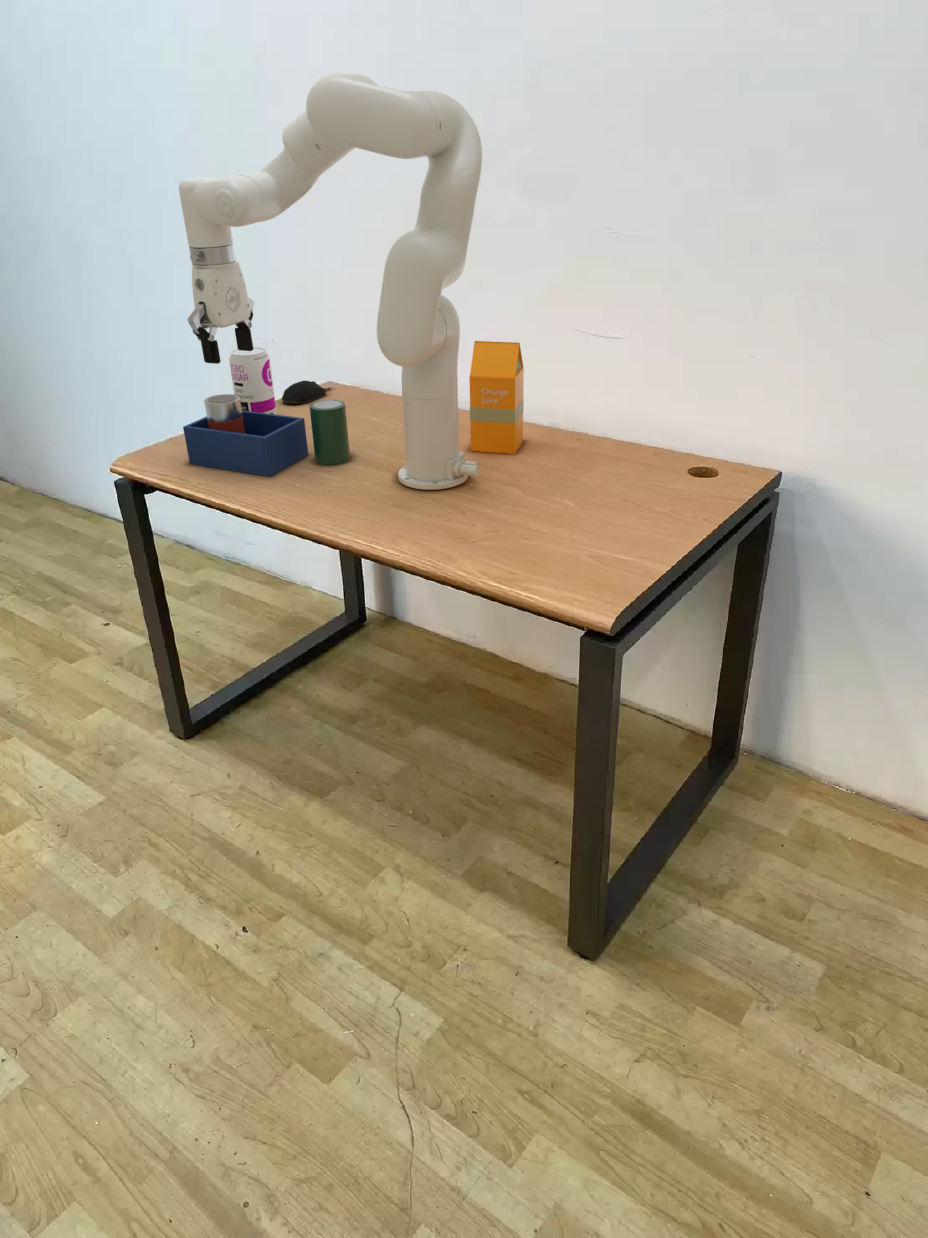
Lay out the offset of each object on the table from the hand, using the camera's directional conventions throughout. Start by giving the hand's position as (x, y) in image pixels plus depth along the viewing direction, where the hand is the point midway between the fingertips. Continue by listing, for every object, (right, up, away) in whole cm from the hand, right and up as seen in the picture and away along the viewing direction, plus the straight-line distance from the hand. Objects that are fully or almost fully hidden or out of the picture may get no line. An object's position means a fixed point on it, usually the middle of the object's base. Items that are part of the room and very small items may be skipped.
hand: (229, 356), depth 165 cm
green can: (+18, -17, +7) cm, 26 cm away
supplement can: (-1, -6, +29) cm, 29 cm away
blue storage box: (+2, -17, +8) cm, 19 cm away
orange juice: (+49, -14, +12) cm, 53 cm away
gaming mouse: (+7, +3, +45) cm, 45 cm away
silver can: (-2, -16, +10) cm, 19 cm away
